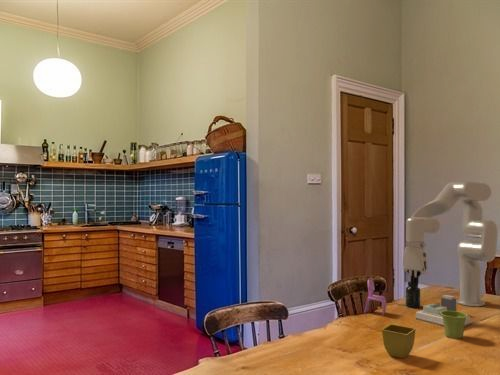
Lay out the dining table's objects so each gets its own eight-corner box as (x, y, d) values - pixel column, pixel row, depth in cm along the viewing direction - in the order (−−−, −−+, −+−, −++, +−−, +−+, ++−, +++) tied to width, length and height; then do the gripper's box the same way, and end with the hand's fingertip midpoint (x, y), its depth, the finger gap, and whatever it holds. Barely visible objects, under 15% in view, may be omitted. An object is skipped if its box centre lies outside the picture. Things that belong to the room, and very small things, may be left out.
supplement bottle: (422, 308, 206) (422, 283, 207) (408, 308, 207) (408, 283, 207) (417, 304, 213) (417, 280, 213) (403, 304, 213) (403, 280, 214)
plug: (445, 311, 201) (445, 294, 201) (456, 314, 197) (456, 296, 197) (441, 313, 198) (441, 295, 198) (451, 315, 194) (451, 297, 194)
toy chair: (382, 316, 193) (382, 282, 193) (363, 313, 198) (362, 280, 198) (387, 312, 200) (386, 279, 200) (368, 309, 205) (368, 277, 205)
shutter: (432, 309, 193) (431, 301, 193) (447, 312, 187) (446, 304, 187) (423, 311, 189) (423, 303, 189) (438, 315, 183) (438, 307, 183)
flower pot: (391, 348, 153) (391, 323, 153) (416, 354, 147) (416, 328, 147) (381, 356, 146) (381, 329, 146) (407, 362, 140) (407, 334, 140)
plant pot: (470, 341, 160) (470, 317, 160) (443, 339, 162) (443, 316, 162) (463, 333, 169) (463, 311, 170) (438, 331, 171) (437, 310, 171)
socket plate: (431, 314, 196) (430, 306, 196) (470, 324, 181) (470, 315, 181) (415, 318, 189) (415, 310, 189) (455, 329, 174) (455, 320, 174)
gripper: (434, 246, 192) (434, 287, 192) (405, 243, 204) (404, 281, 204) (425, 247, 188) (424, 289, 187) (395, 243, 200) (395, 283, 199)
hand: (414, 285), depth 196 cm, fingers closed
